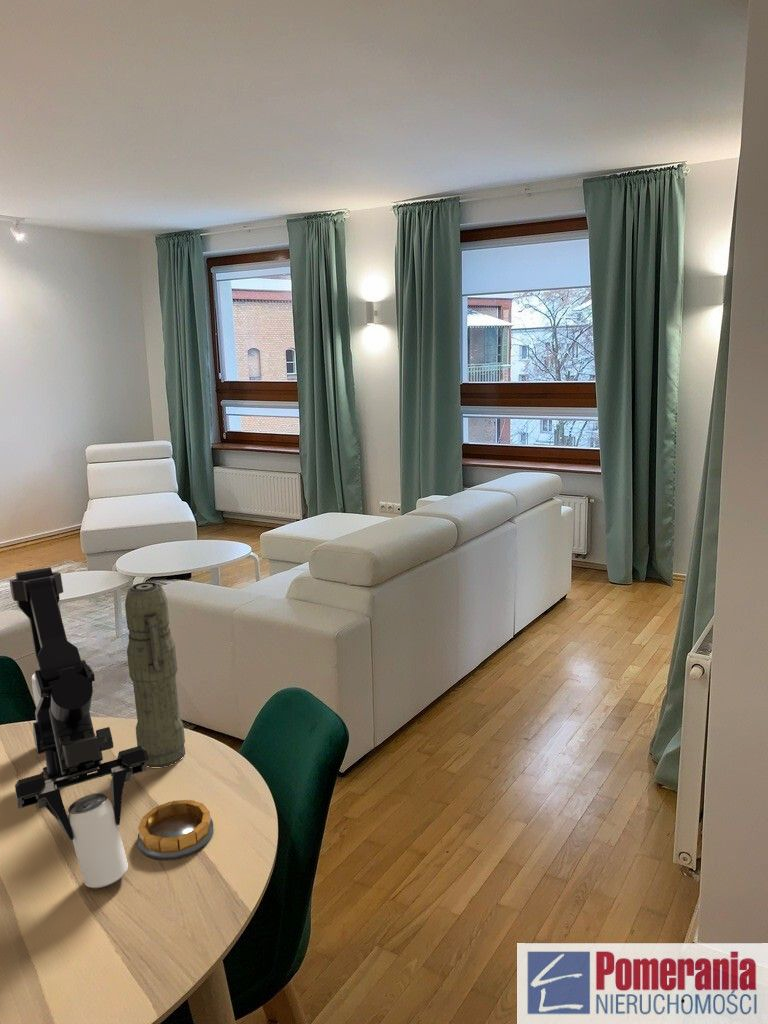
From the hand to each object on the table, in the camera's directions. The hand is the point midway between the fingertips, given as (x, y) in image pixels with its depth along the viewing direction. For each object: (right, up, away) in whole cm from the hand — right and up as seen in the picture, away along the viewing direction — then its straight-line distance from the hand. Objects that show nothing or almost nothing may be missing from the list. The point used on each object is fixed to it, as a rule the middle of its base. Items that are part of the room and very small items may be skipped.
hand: (95, 832), depth 114 cm
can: (+1, -8, +3) cm, 8 cm away
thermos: (-1, -1, +37) cm, 37 cm away
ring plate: (+9, -6, +13) cm, 16 cm away
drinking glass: (-24, 0, +44) cm, 50 cm away
